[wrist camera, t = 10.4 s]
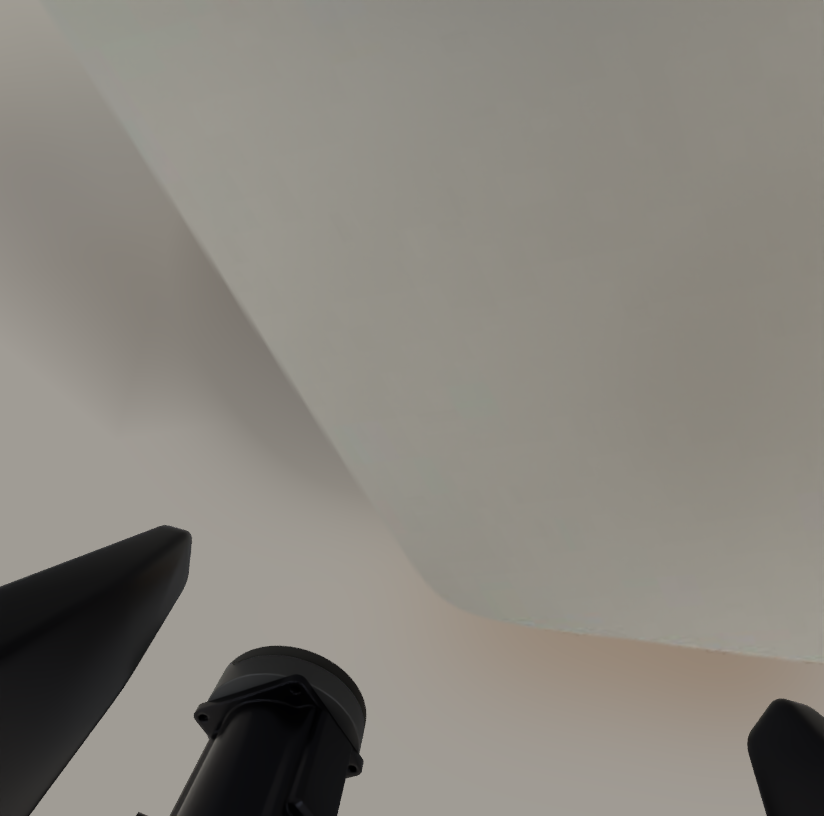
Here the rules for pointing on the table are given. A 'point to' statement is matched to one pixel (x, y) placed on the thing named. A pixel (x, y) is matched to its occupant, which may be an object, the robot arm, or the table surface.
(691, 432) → the table surface
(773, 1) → the table surface
